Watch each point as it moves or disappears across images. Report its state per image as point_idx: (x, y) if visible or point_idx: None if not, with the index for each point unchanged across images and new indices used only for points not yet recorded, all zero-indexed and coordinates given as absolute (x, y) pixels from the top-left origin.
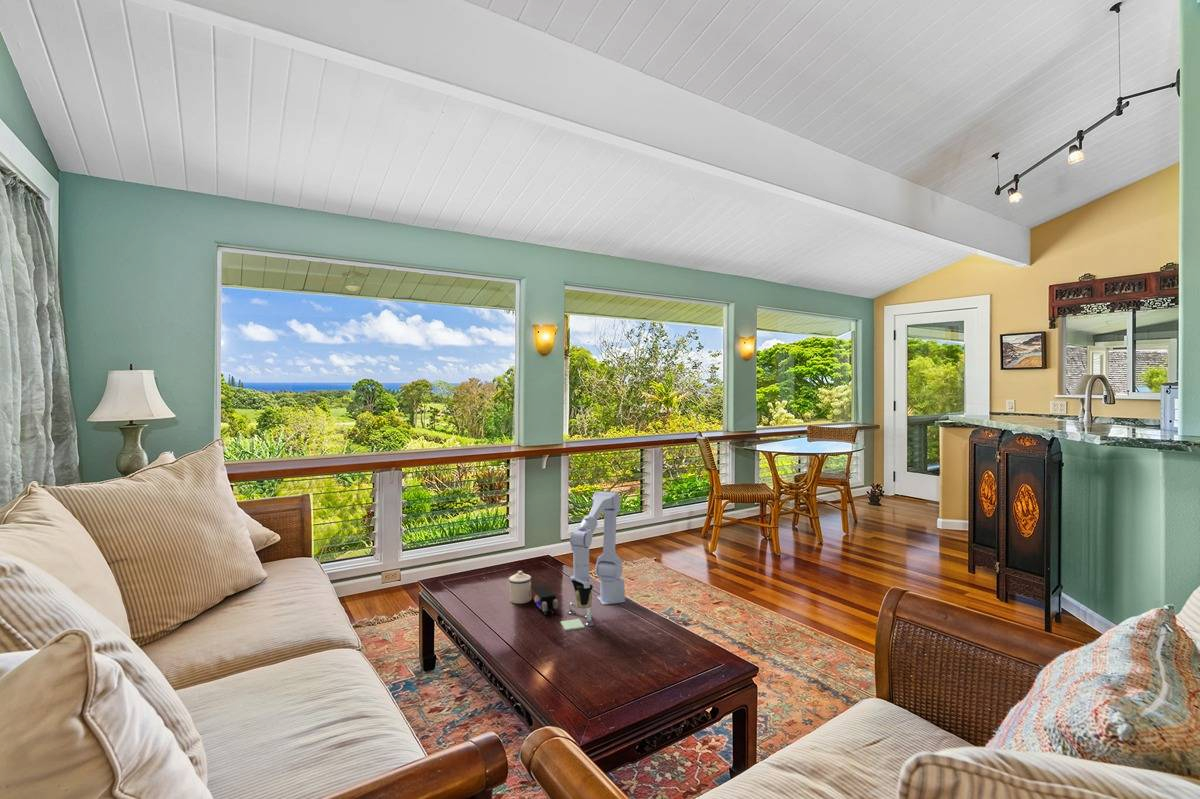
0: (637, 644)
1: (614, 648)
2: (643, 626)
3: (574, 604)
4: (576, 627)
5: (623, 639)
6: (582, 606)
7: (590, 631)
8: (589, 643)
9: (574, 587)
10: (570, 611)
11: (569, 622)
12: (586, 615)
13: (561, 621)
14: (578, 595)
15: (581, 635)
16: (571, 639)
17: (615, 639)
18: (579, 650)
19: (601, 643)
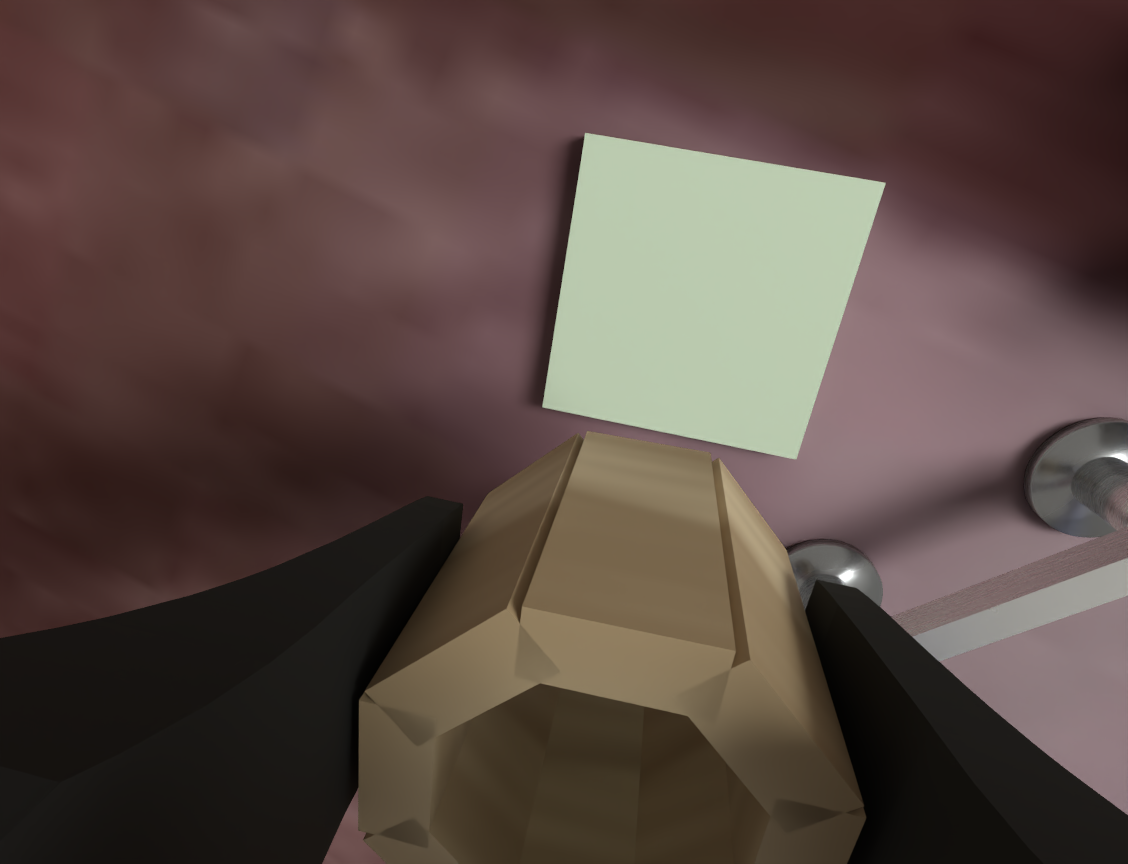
0: (48, 628)
1: (11, 436)
2: (342, 834)
3: (1104, 564)
4: (562, 305)
5: (160, 590)
6: (483, 510)
7: (435, 419)
8: (161, 269)
9: (1011, 793)
10: (1102, 466)
11: (765, 290)
12: (828, 578)
13: (871, 193)
14: (494, 595)
15: (378, 279)
16: (319, 110)
17: (178, 535)
18: (25, 80)
19: (131, 382)
